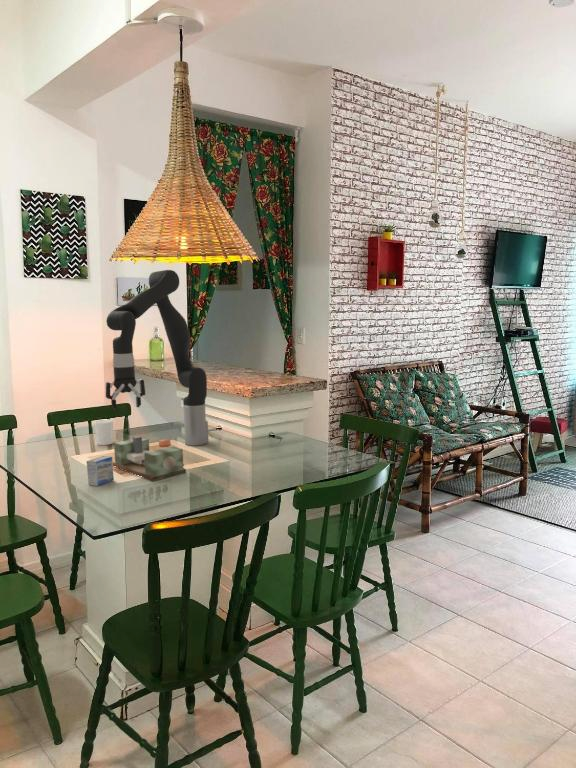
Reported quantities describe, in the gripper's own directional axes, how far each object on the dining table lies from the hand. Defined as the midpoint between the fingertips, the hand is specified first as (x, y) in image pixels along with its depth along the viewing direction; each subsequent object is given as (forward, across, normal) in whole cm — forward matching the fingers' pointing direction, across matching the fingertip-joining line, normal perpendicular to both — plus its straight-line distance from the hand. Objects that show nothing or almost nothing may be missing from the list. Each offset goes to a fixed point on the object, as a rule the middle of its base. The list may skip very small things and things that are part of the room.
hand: (126, 408), depth 238 cm
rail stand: (+22, -5, +9) cm, 25 cm away
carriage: (+20, -3, +4) cm, 21 cm away
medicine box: (+22, +14, +17) cm, 31 cm away
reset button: (+11, -8, +21) cm, 25 cm away
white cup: (+22, +1, -42) cm, 48 cm away
